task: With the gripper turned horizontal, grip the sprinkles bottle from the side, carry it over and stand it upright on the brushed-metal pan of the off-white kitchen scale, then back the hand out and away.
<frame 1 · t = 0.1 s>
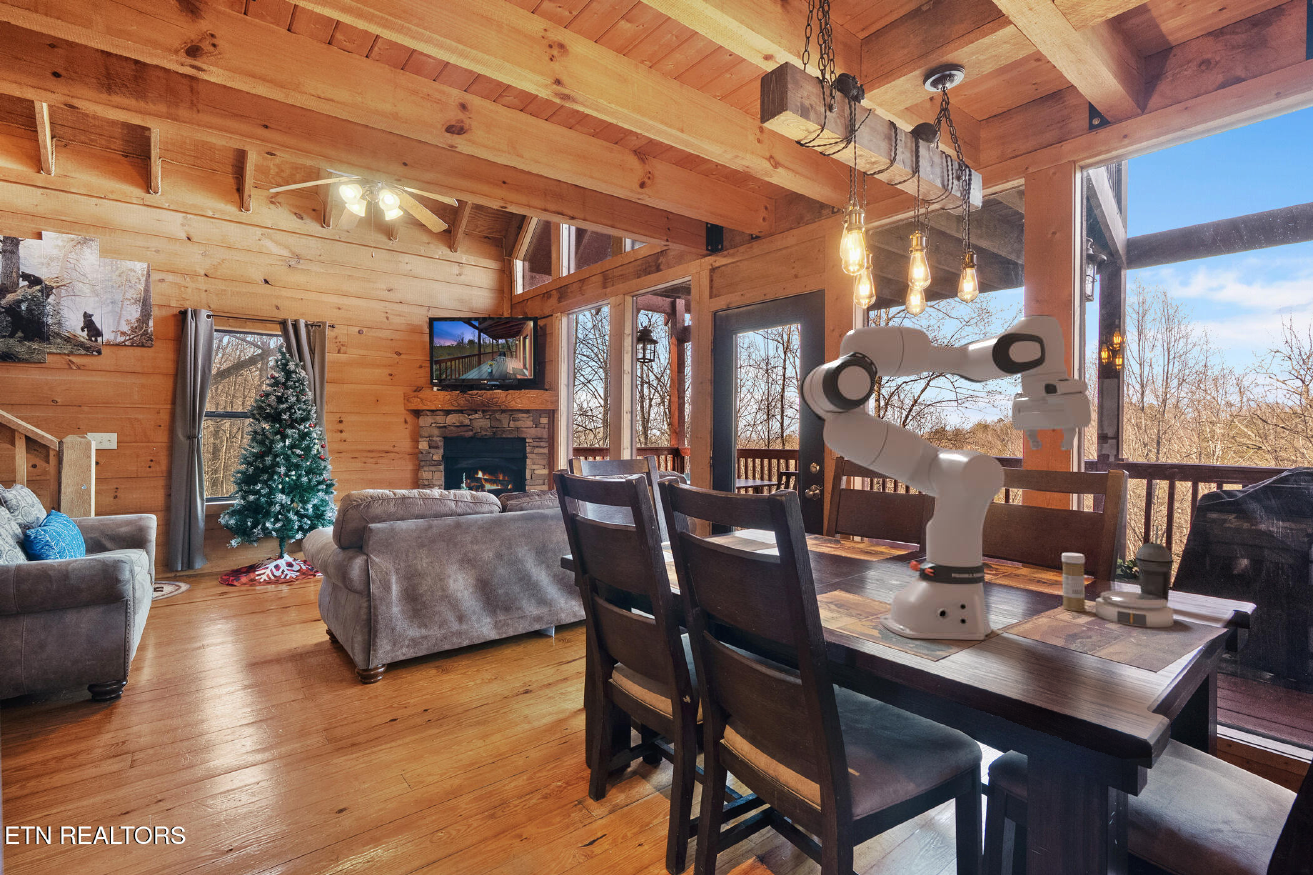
hand: (1051, 449, 136), 39 cm above the table, tool pointing down, fingers open, 8 cm apart
sprinkles bottle: (1073, 610, 147), on the table
scale base: (1133, 617, 140), on the table
scale pan: (1133, 599, 140), point 4 cm above the table, slide at -0.5 cm
beverage cup: (1154, 607, 149), on the table
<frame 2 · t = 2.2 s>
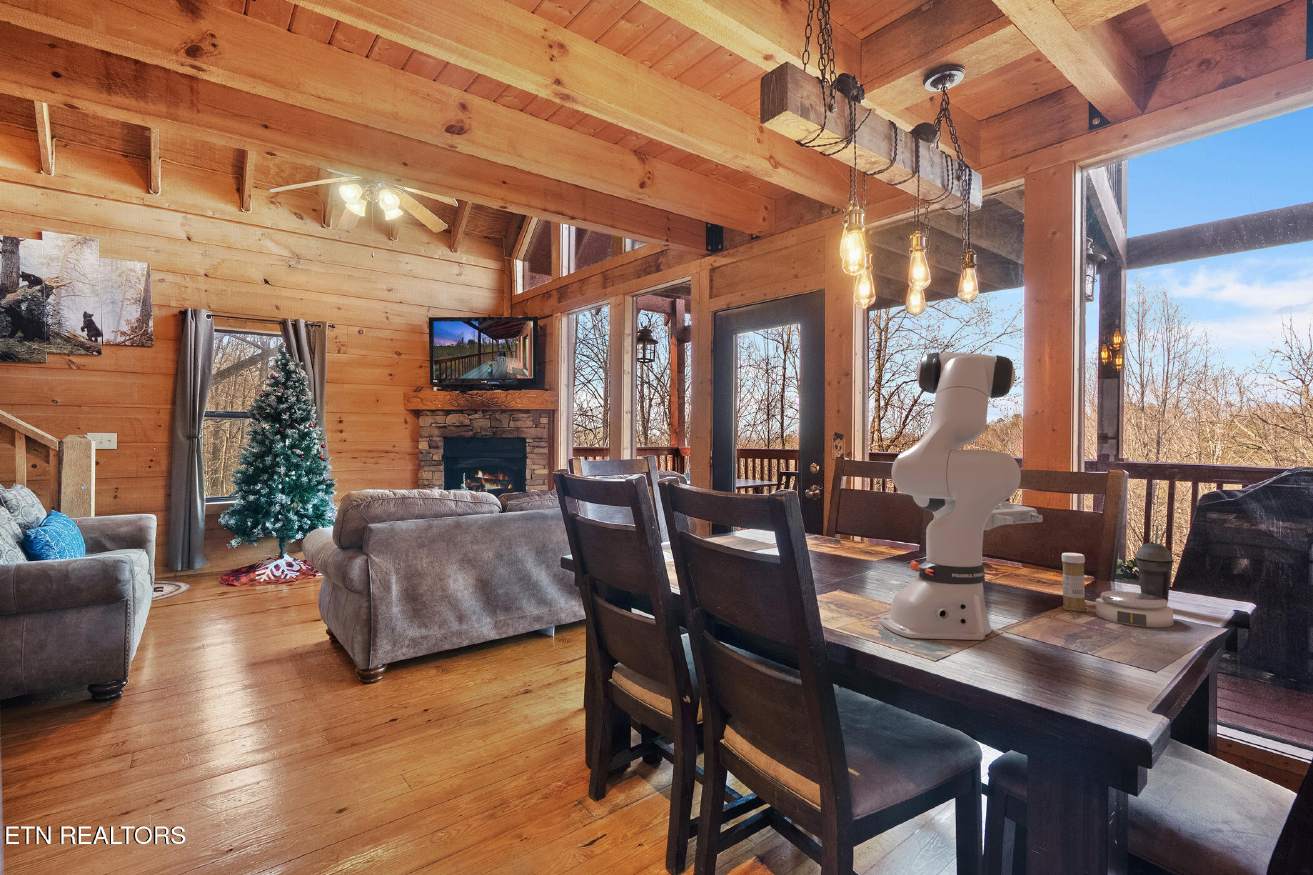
hand: (1027, 519, 158), 20 cm above the table, tool horizontal, fingers open, 8 cm apart
nothing on the table moved.
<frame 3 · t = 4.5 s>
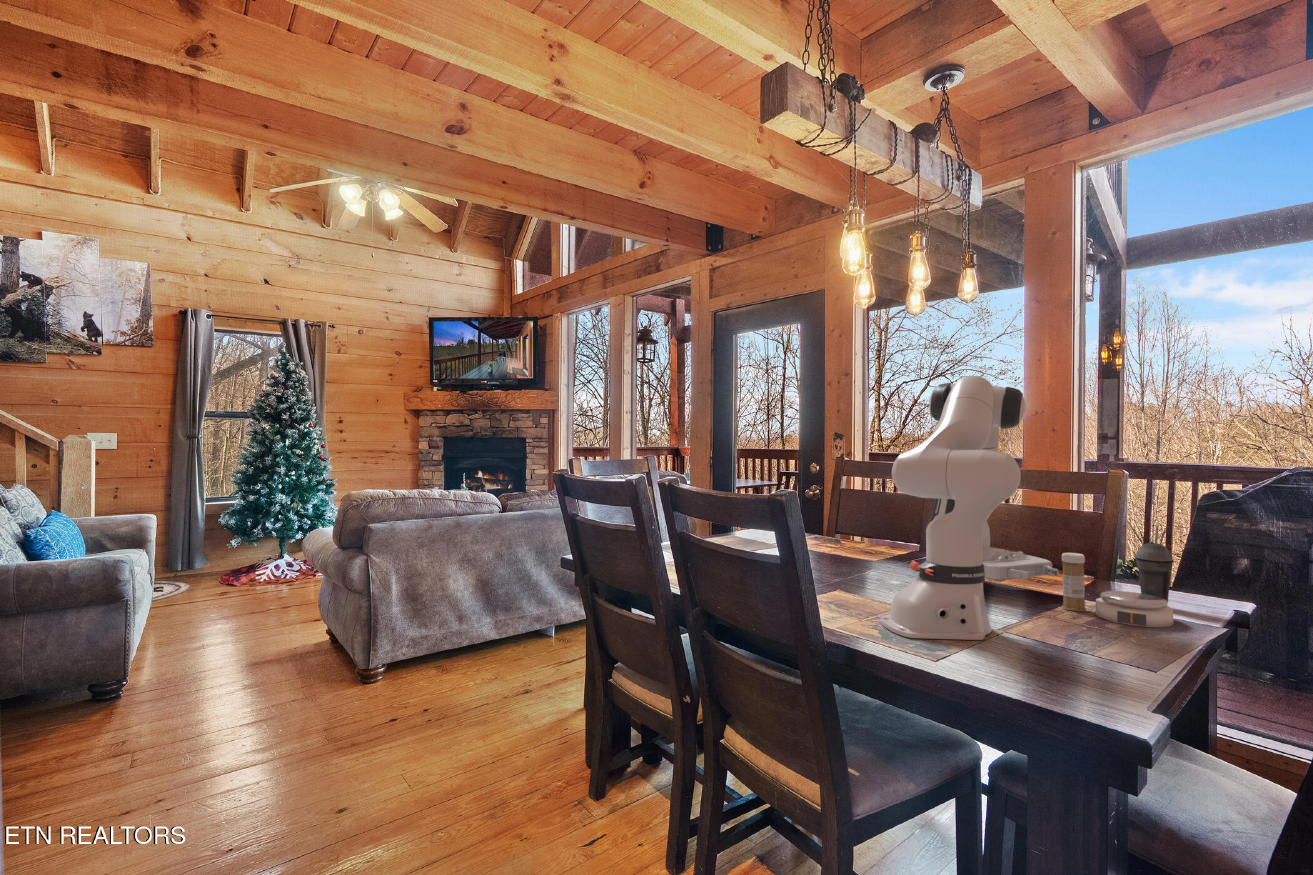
hand: (1043, 574, 154), 7 cm above the table, tool horizontal, fingers open, 8 cm apart
nothing on the table moved.
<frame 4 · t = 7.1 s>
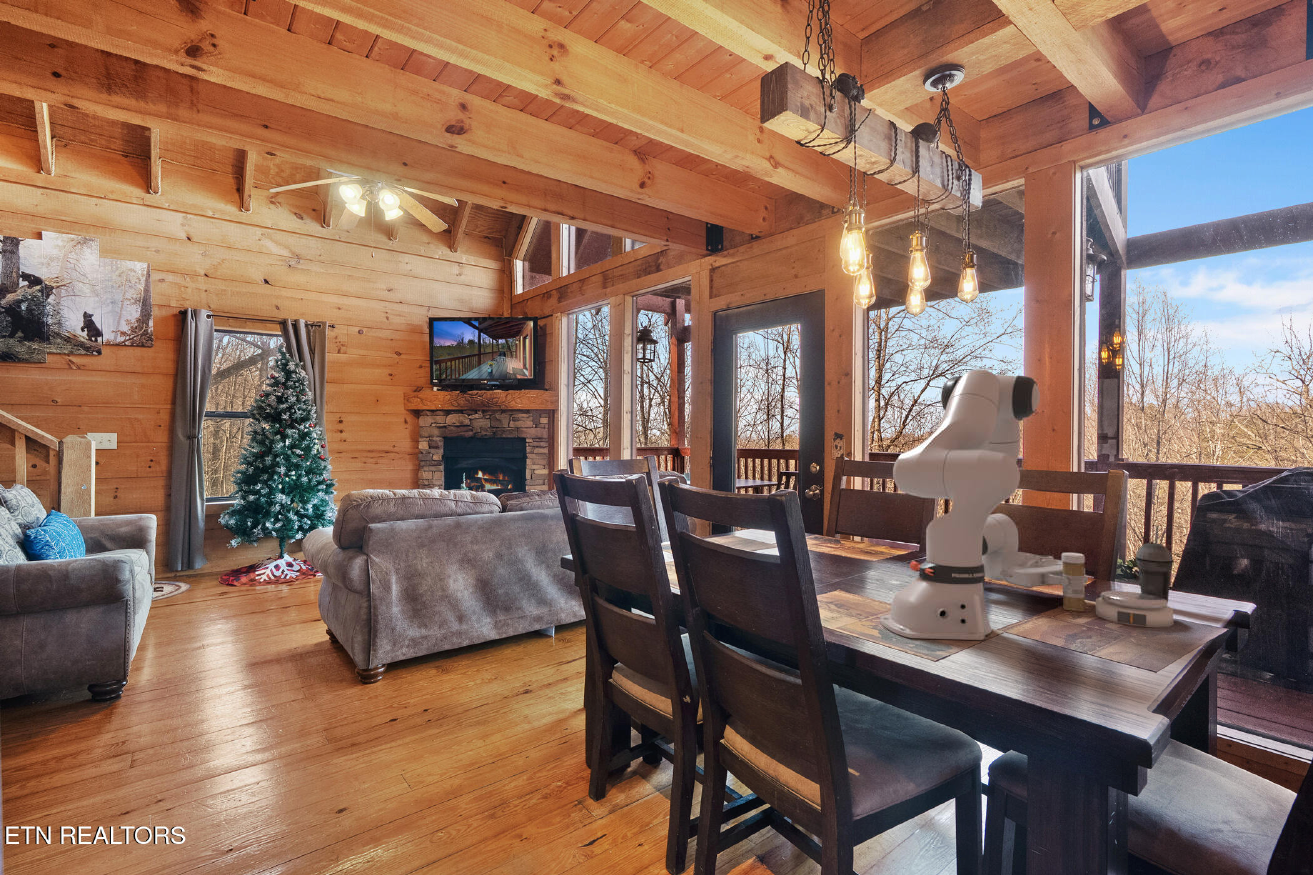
hand: (1077, 581, 146), 7 cm above the table, tool horizontal, fingers closed on sprinkles bottle, 4 cm apart
sprinkles bottle: (1073, 610, 147), on the table, touching gripper
everything else where it was.
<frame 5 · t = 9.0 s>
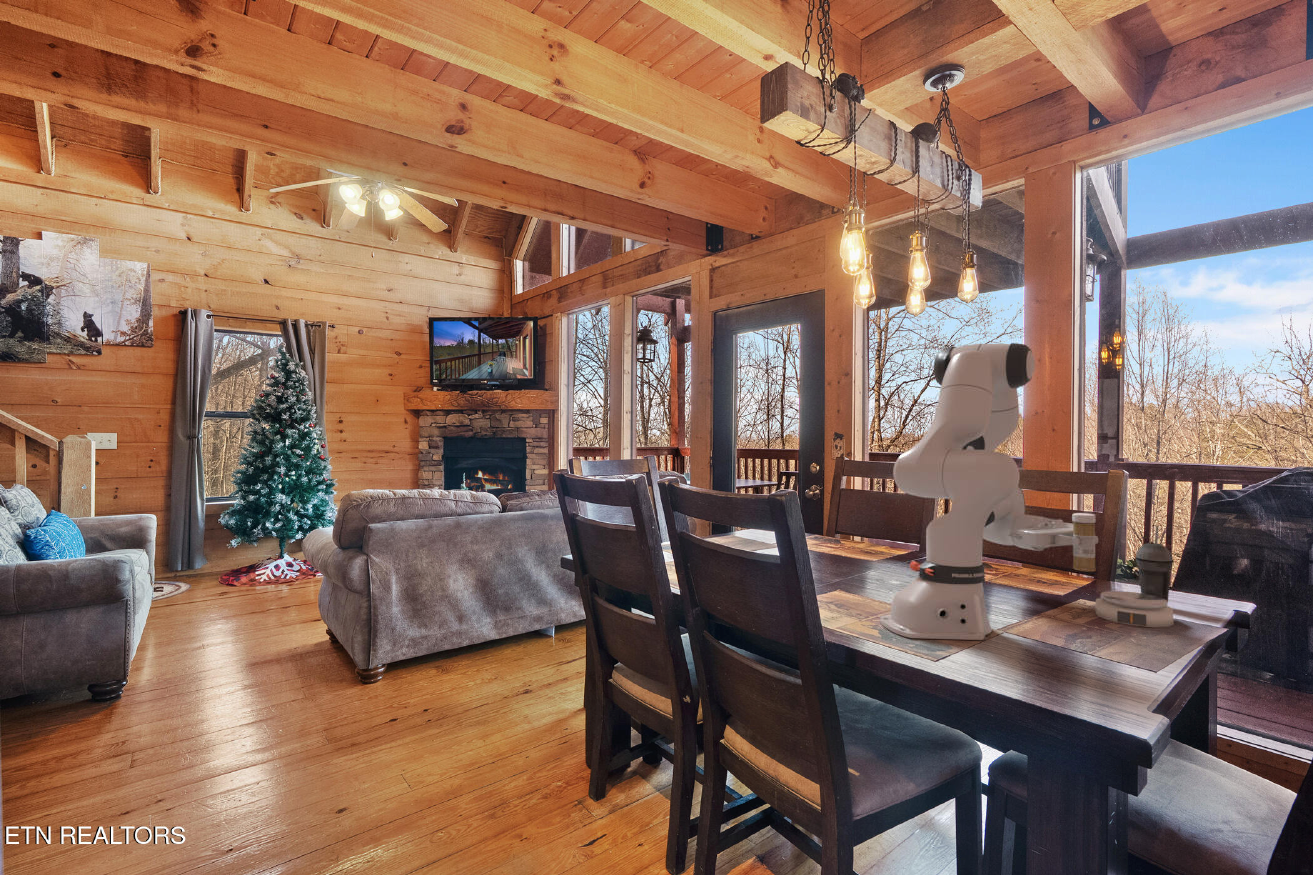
hand: (1087, 541, 145), 17 cm above the table, tool horizontal, fingers closed on sprinkles bottle, 4 cm apart
sprinkles bottle: (1084, 570, 146), point 10 cm above the table, touching gripper
everything else where it was.
when the fingers open (13 cm above the table, at t = 11.2 s): sprinkles bottle drops 2 cm, resting on scale pan.
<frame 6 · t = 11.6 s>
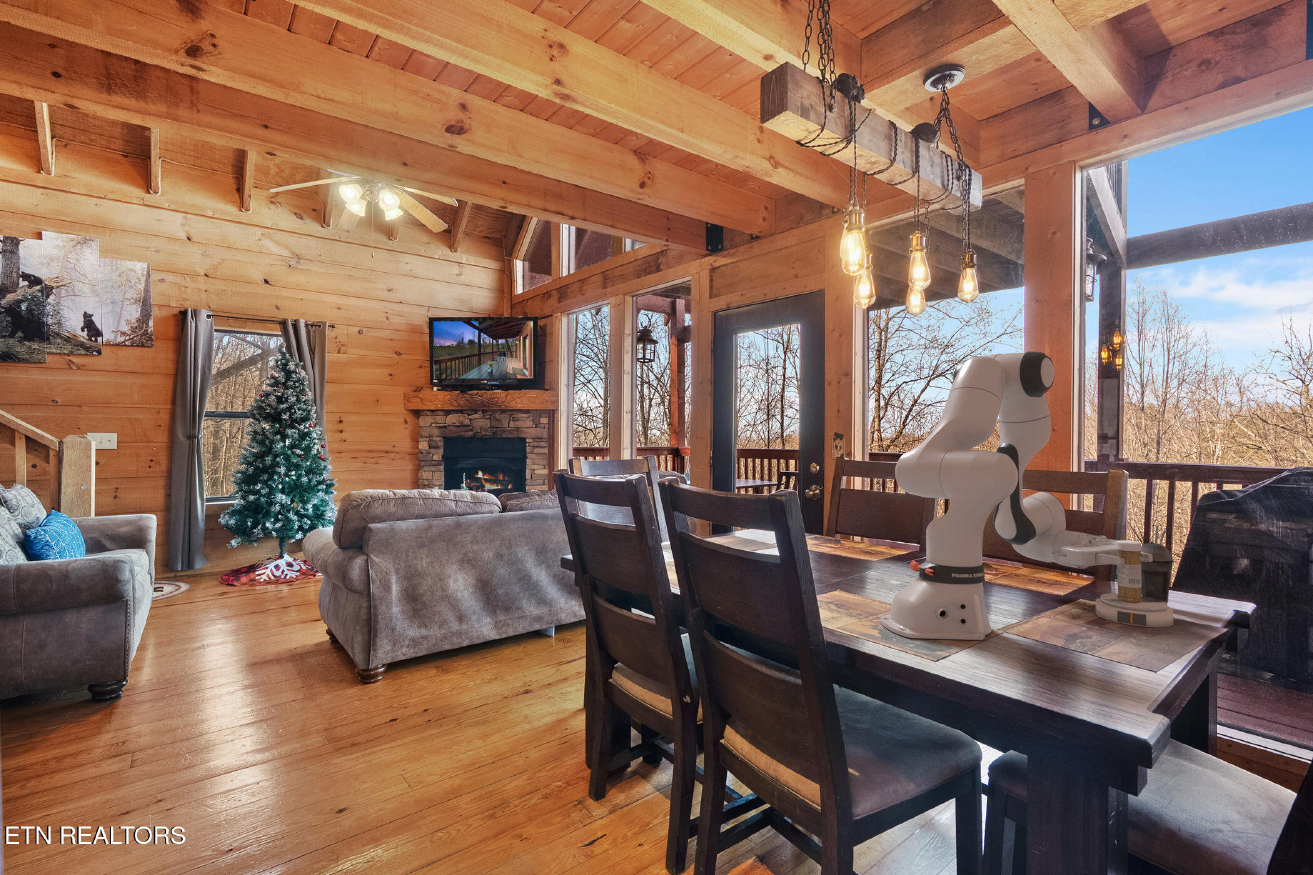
hand: (1136, 559, 139), 13 cm above the table, tool horizontal, fingers open, 8 cm apart
sprinkles bottle: (1129, 601, 139), point 4 cm above the table, touching scale pan
scale pan: (1133, 602, 140), point 4 cm above the table, slide at -1.0 cm, touching sprinkles bottle
everything else where it was.
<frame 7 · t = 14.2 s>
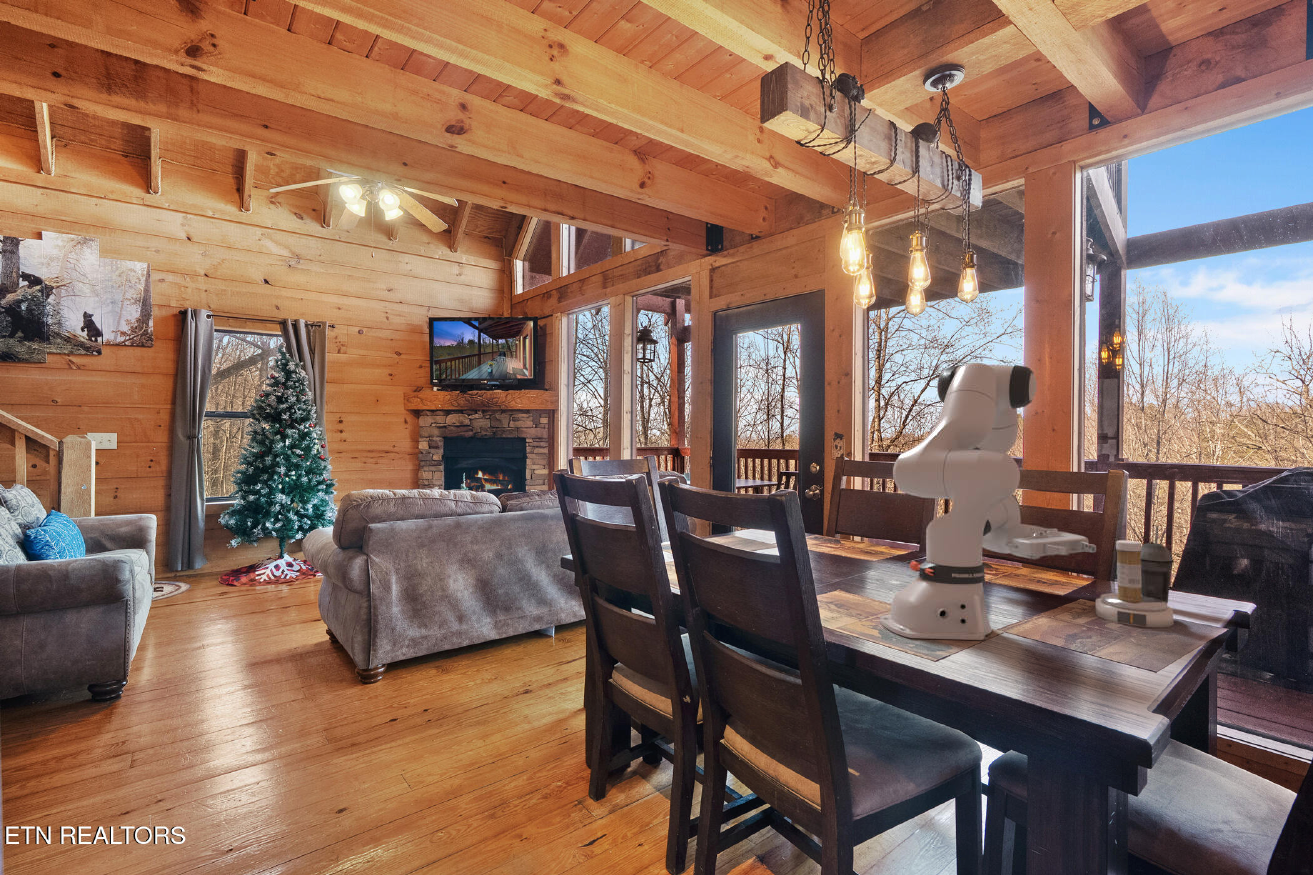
hand: (1080, 550, 151), 14 cm above the table, tool horizontal, fingers open, 8 cm apart
nothing on the table moved.
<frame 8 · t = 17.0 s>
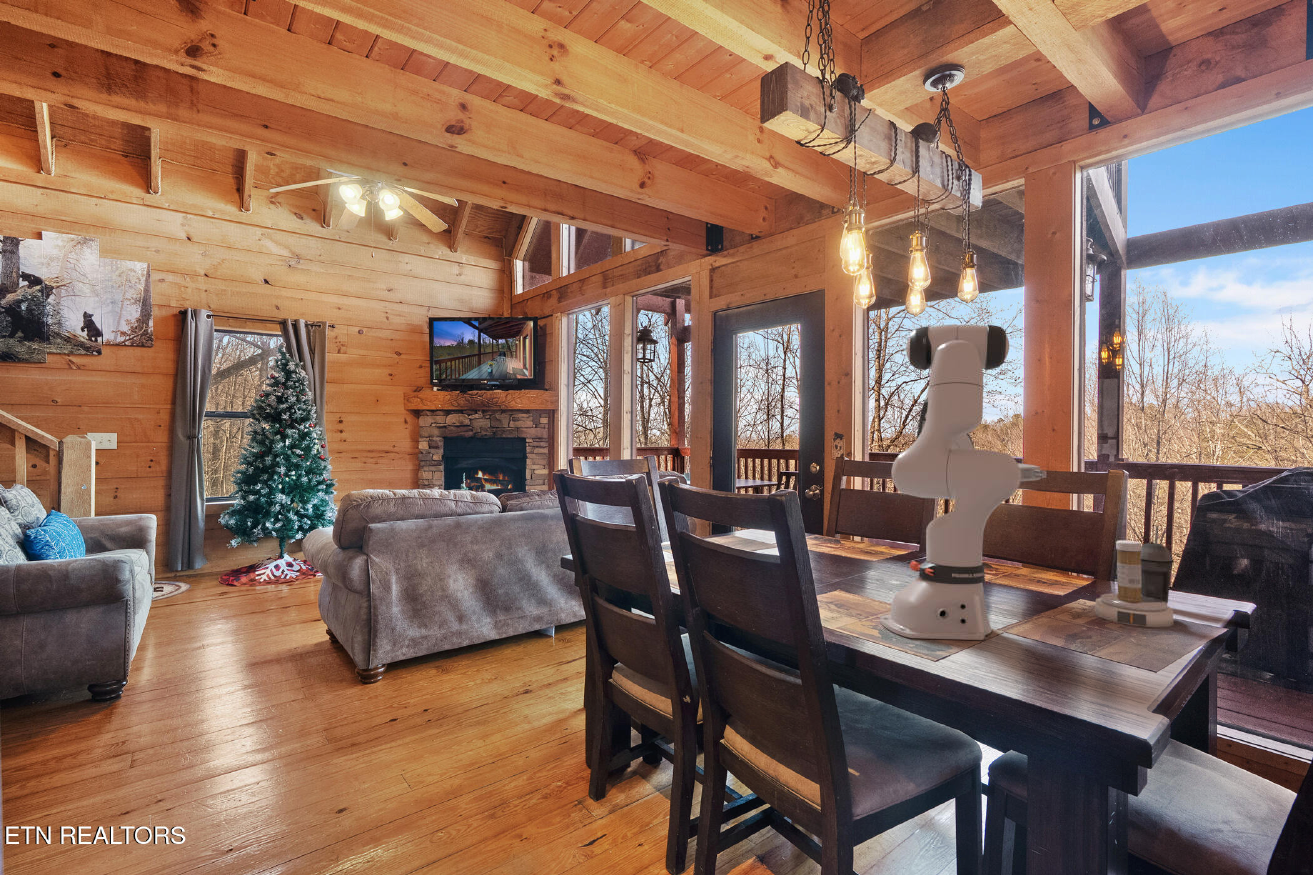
hand: (1031, 475, 156), 32 cm above the table, tool horizontal, fingers open, 8 cm apart
nothing on the table moved.
at the end: sprinkles bottle 1.1 cm off-centre on the scale base, point 4.0 cm above the scale base's base; sprinkles bottle tilted 0°; the gripper is holding nothing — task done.
